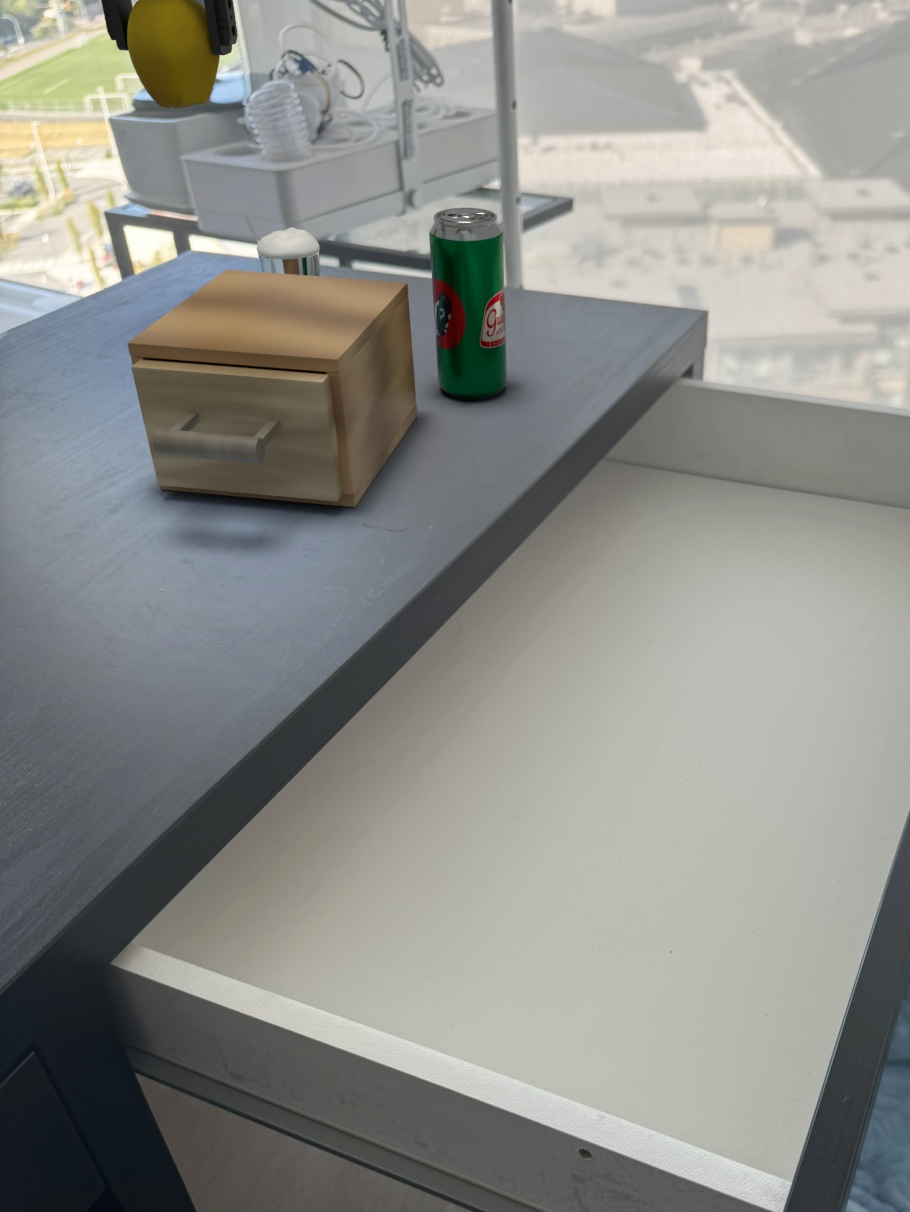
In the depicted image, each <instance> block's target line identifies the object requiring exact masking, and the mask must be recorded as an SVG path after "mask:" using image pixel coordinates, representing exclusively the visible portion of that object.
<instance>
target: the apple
mask: <svg viewBox="0 0 910 1212" xmlns="http://www.w3.org/2000/svg"><path fill="white" fill-rule="evenodd" d="M132 6H133V8H132V10H131V13H130V16H129V21H128V28H127V45H128V50H129V51H128V54H129V58H130V60H131V63H132V67H133V69H134V70H135V73H136V75H137V77H138V79H139V81H140V83H141V85H142V87H143V88H144V89H145V91H146V93H147V94H148V95H149V97H150V98H151V99H152V100H153V101H154V102H155V103H156V104H157V105H159V106H160V107H162V108H165V109H170V108H172V109H173V108H174V109H181V108H187V107H191V106H198V105H204V104H205V103H207V102H208V100H209V99H210V96H211V95H212V92H213V89H214V85H215V82H216V79H217V75H218V71H219V70H218V69H219V66H220V65H219V64H220V57H221V55H214V54H213V53H212V50H211V44H210V38H209V31H208V25H207V18H206V11H205V6H203V5H202V4H201V3H200V2H198V1H197V0H137V1H136V2H135V3H134V4H133V5H132Z"/></svg>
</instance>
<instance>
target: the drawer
mask: <svg viewBox="0 0 910 1212" xmlns="http://www.w3.org/2000/svg"><path fill="white" fill-rule="evenodd" d="M130 367H131V368H130V369H131V373H132V378H133V381H134V385H135V390H136V394H137V399H138V403H139V407H140V411H141V416H142V420H143V425H144V429H145V433H146V438H147V442H148V446H149V450H150V456H151V459H152V460H151V461H152V464H153V469H154V471H155V472H154V473H155V477H156V481H157V486H160V485H162V486H173V487H184V488H195V489H206V490H217V491H228V492H238V493H249V494H260V495H271V496H282V497H293V498H304V499H315V500H326V501H338V500H339V499H340V497H341V496H342V495H343V484H342V476H341V468H340V460H339V451H338V443H337V435H336V427H335V419H334V410H333V402H332V394H331V386H330V377H329V375H328V374H327V372H321V371H309V370H296V369H284V368H271V367H258V366H246V365H233V364H221V363H208V362H196V361H183V360H171V359H163V361H153V360H139V361H138V362H136V363H135V364H134V365H131V366H130Z"/></svg>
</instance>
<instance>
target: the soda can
mask: <svg viewBox="0 0 910 1212" xmlns="http://www.w3.org/2000/svg"><path fill="white" fill-rule="evenodd" d="M433 221H434V222H433V224H432V226H431V228H430V230H429V233H428V235H429V251H430V252H429V253H430V254H429V255H430V267H431V269H430V271H431V284H432V299H433V315H434V331H435V332H434V333H435V335H434V336H435V349H436V365H437V380H438V385H439V386H440V388H441V389H442V390H443V392H445V393H446V394H447V395H449V396H451V397H453V398H456V399H460V400H468V401H470V400H471V401H474V400H475V401H476V400H485V399H489V398H492V397H494V396H497V395H499V394H500V393H501V392H502V391H503V390H504V388H505V387H506V385H507V384H508V377H507V375H508V374H507V371H508V370H507V341H506V340H507V337H506V333H507V332H506V330H507V329H506V295H505V293H506V292H505V291H506V290H505V288H506V287H505V251H504V249H505V248H504V231H503V230H502V228H501V226H500V225H499V223H498V215H497V213H495V212H494V211H491V210H489V209H484V208H479V207H478V208H477V207H452V208H446V209H443V210H440V211H437V212H436V213H435V214H434V215H433Z"/></svg>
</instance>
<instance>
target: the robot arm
mask: <svg viewBox="0 0 910 1212" xmlns="http://www.w3.org/2000/svg"><path fill="white" fill-rule="evenodd" d="M100 1H101V6H102V12H103V16H104V21H105V27H106V32H107V34H108V36H109V38H110V40H111V41H115V43H116V47H117V49H118V50H119V51H126V52H127V51H128V52H129V50H128V45H127V28H128V21H129V16H130V13H131V10H132V8H133V6H134V5H133V1H132V0H100ZM203 5H204V8H205V11H206V18H207V25H208V31H209V38H210V44H211V50H212V53H213V54H214V55H220V56H227V55H229V54H231V53H232V52H233V45H236V44H237V41H238V27H237V21H236V13H235V6H234V0H203Z"/></svg>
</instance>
